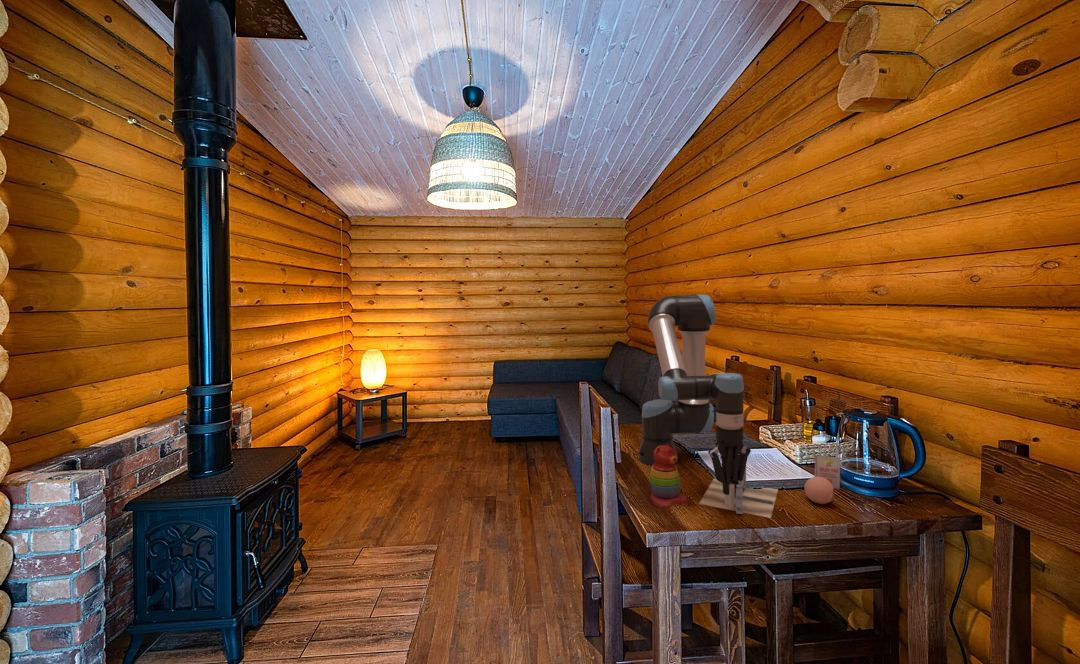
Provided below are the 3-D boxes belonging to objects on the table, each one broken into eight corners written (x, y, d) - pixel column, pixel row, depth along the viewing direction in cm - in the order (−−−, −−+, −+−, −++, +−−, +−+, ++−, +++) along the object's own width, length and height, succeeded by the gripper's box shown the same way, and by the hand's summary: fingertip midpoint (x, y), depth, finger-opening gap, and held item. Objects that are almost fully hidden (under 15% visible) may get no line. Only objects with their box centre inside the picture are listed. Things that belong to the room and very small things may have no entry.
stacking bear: (663, 511, 140) (662, 453, 139) (642, 498, 149) (640, 444, 148) (690, 502, 145) (689, 447, 144) (667, 491, 154) (666, 438, 153)
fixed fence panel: (740, 483, 157) (740, 459, 157) (746, 483, 156) (746, 460, 156) (734, 496, 147) (734, 472, 146) (740, 497, 146) (740, 473, 145)
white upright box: (814, 482, 157) (814, 453, 156) (838, 485, 154) (838, 456, 153) (815, 486, 154) (815, 457, 153) (839, 489, 151) (840, 459, 150)
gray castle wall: (734, 496, 146) (734, 475, 145) (740, 497, 145) (740, 476, 145) (736, 513, 135) (735, 490, 135) (742, 514, 135) (742, 491, 134)
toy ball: (840, 506, 139) (841, 481, 138) (818, 510, 138) (818, 484, 137) (819, 495, 147) (819, 471, 146) (798, 498, 145) (798, 474, 145)
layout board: (713, 480, 162) (713, 478, 162) (778, 491, 151) (778, 489, 151) (698, 505, 143) (698, 503, 143) (770, 519, 133) (770, 517, 133)
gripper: (717, 431, 131) (717, 512, 133) (757, 427, 134) (757, 507, 136) (702, 424, 139) (702, 501, 140) (740, 421, 141) (740, 496, 143)
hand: (729, 504), depth 138 cm, fingers closed
